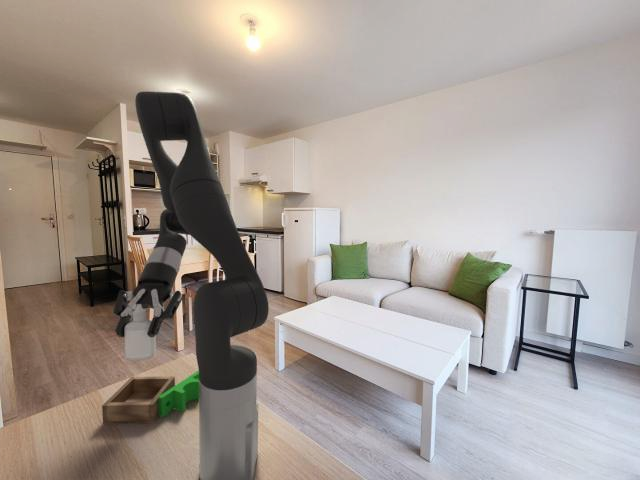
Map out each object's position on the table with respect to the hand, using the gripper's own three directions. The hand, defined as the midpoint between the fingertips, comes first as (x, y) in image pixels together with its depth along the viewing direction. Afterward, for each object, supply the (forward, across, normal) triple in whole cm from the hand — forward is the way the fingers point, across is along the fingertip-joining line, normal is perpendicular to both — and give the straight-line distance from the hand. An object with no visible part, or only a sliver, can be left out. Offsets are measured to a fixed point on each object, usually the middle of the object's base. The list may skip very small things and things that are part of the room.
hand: (135, 335), depth 59 cm
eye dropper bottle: (+3, 0, +6) cm, 6 cm away
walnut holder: (+11, 0, +13) cm, 17 cm away
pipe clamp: (+11, +9, +14) cm, 20 cm away
